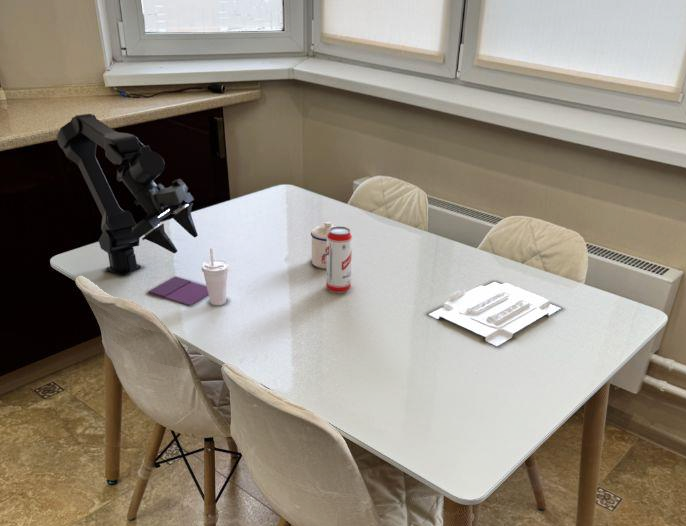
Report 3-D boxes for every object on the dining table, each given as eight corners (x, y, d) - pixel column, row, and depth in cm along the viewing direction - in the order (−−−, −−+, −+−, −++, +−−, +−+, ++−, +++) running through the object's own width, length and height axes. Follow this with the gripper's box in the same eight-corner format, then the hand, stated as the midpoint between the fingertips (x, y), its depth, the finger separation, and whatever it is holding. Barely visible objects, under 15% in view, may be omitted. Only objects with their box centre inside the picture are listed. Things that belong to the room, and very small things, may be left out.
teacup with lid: (322, 272, 186) (322, 231, 180) (304, 260, 192) (304, 220, 186) (358, 263, 192) (360, 223, 186) (340, 251, 198) (341, 212, 192)
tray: (561, 308, 174) (564, 294, 172) (497, 350, 157) (499, 336, 155) (494, 281, 186) (495, 269, 183) (427, 318, 169) (428, 305, 167)
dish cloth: (148, 292, 172) (148, 291, 172) (175, 278, 180) (175, 276, 179) (190, 305, 167) (190, 303, 167) (215, 290, 175) (215, 288, 175)
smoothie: (206, 295, 172) (201, 243, 164) (232, 295, 173) (228, 243, 165) (203, 307, 167) (198, 254, 159) (230, 307, 167) (226, 254, 160)
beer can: (353, 286, 180) (356, 227, 171) (345, 296, 175) (347, 236, 166) (331, 282, 181) (332, 224, 173) (322, 292, 176) (323, 232, 168)
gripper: (141, 186, 149) (186, 246, 154) (186, 159, 163) (227, 214, 168) (112, 209, 155) (156, 266, 160) (158, 181, 170) (198, 234, 175)
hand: (186, 244), depth 166 cm, fingers open, 9 cm apart
